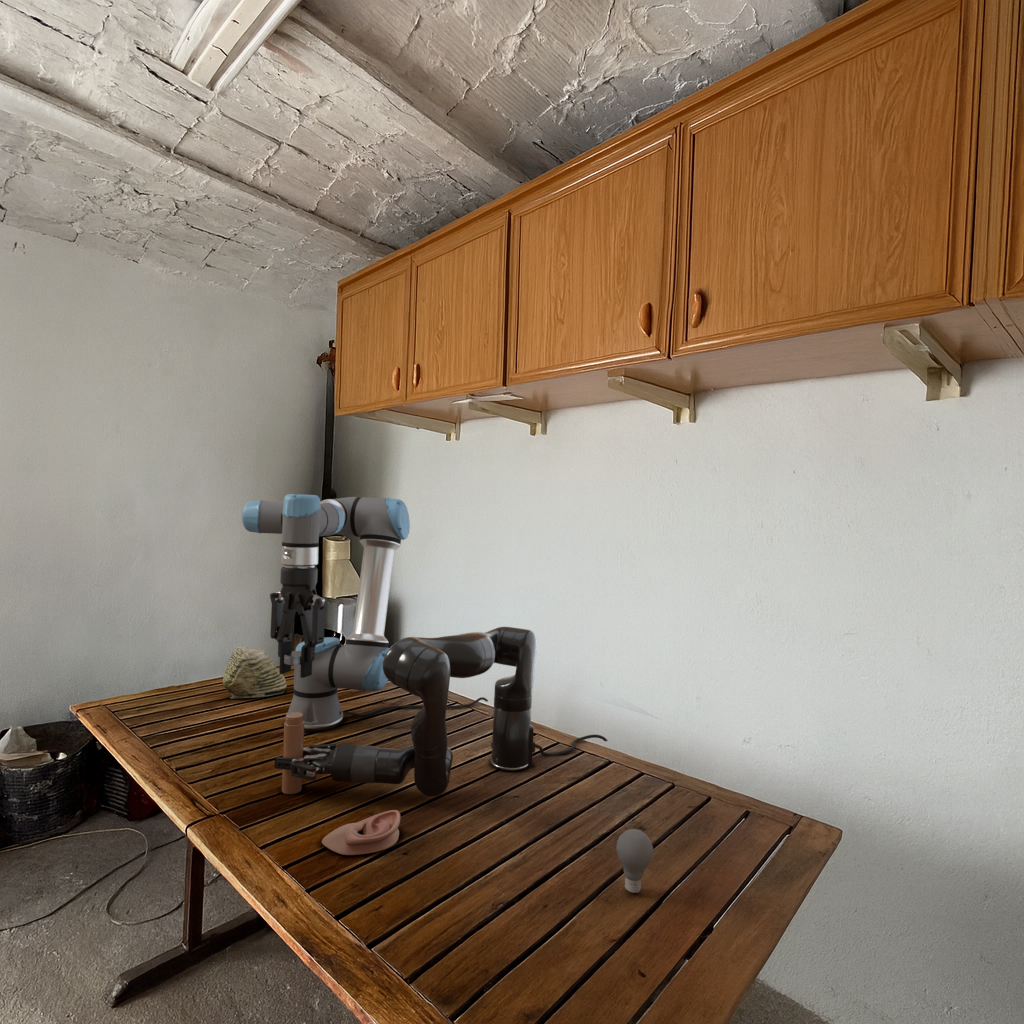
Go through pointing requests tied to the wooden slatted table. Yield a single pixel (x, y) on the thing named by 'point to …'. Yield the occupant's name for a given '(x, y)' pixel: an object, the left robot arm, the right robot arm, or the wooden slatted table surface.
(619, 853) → the light bulb
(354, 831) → the anatomical model
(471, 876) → the wooden slatted table surface
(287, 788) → the brown cylindrical rod
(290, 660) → the lid
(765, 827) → the wooden slatted table surface
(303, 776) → the right robot arm
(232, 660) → the fossil
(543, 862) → the wooden slatted table surface
